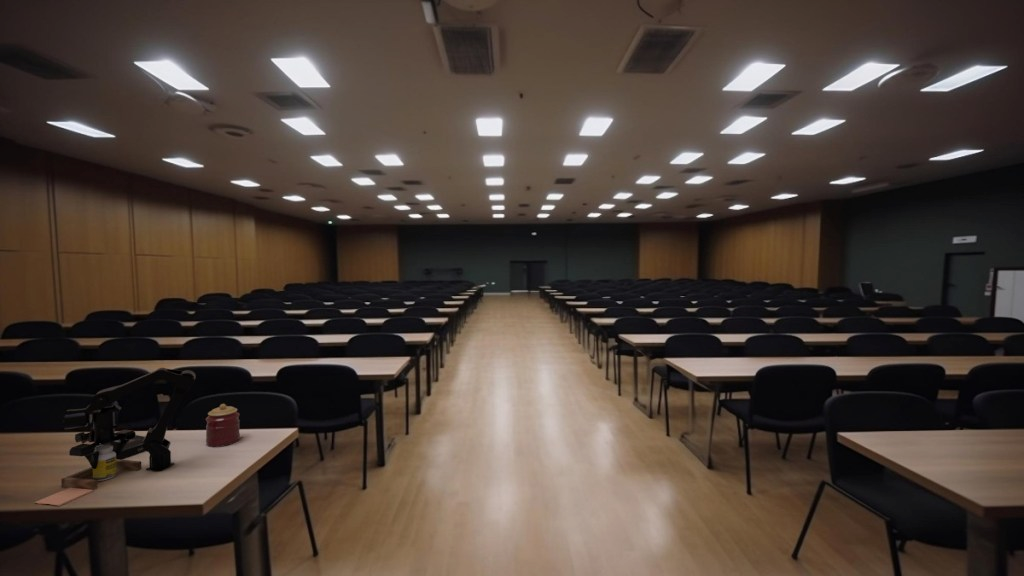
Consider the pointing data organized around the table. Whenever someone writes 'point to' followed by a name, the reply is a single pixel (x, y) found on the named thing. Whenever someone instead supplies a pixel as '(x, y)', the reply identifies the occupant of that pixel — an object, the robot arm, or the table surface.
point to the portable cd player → (131, 447)
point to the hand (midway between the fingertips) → (104, 464)
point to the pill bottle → (105, 464)
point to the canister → (222, 426)
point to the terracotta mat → (64, 496)
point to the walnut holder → (80, 478)
